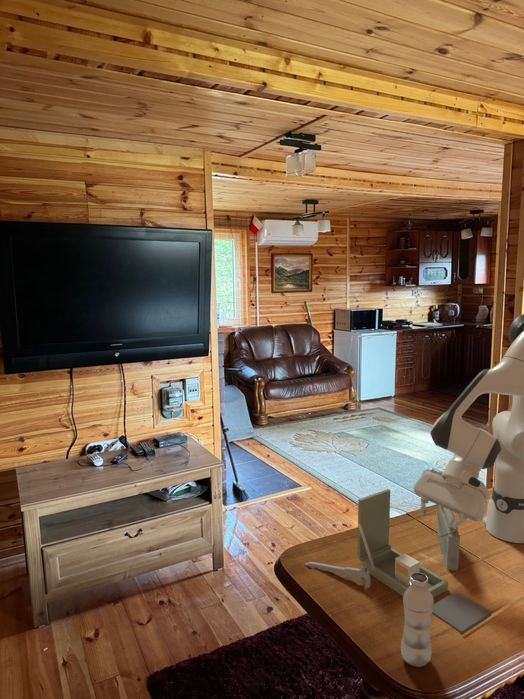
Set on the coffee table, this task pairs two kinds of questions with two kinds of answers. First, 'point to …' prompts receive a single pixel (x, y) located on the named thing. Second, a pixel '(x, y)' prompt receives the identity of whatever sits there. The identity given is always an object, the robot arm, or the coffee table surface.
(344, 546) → the coffee table surface
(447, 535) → the geiger counter
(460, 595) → the rubber mat
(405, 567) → the block
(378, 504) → the equipment case
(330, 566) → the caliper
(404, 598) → the plastic bottle
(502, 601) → the coffee table surface
